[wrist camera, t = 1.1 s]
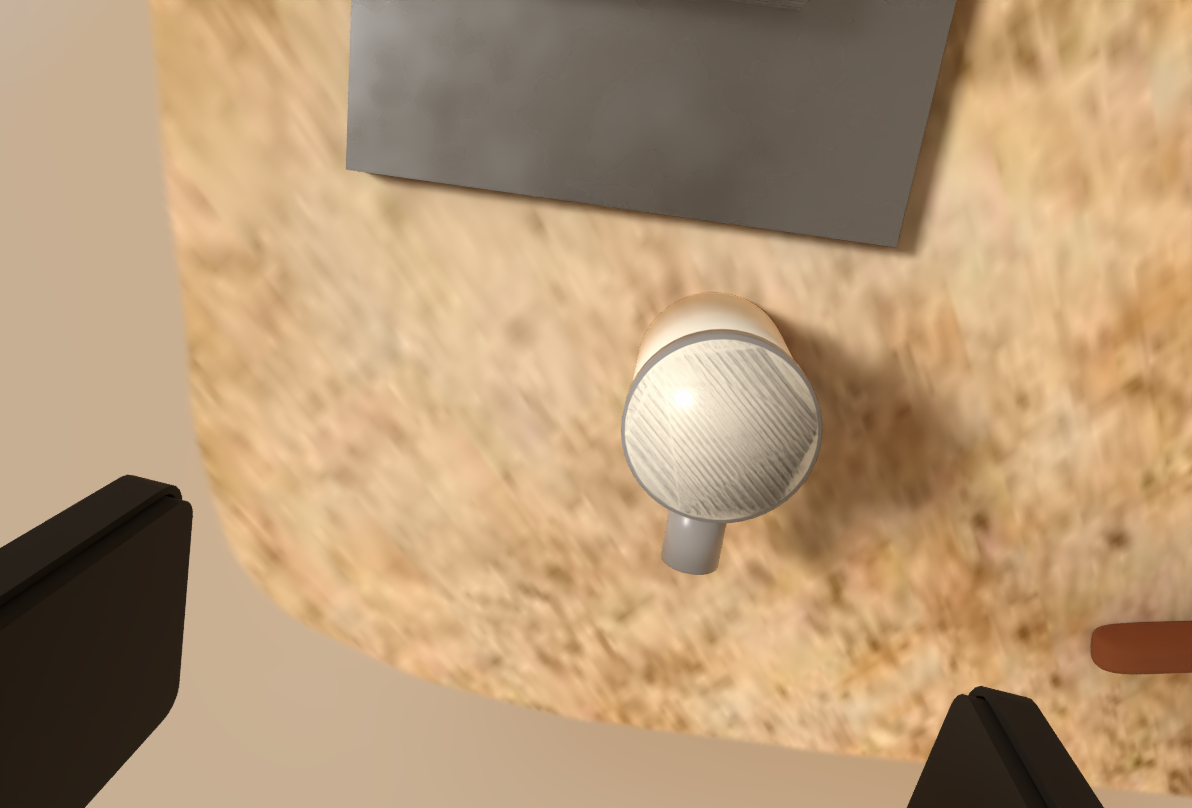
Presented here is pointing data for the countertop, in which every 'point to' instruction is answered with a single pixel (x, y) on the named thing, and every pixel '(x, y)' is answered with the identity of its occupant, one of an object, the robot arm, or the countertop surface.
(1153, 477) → the countertop surface
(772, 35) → the mount plate
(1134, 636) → the kitchen knife
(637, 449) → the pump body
